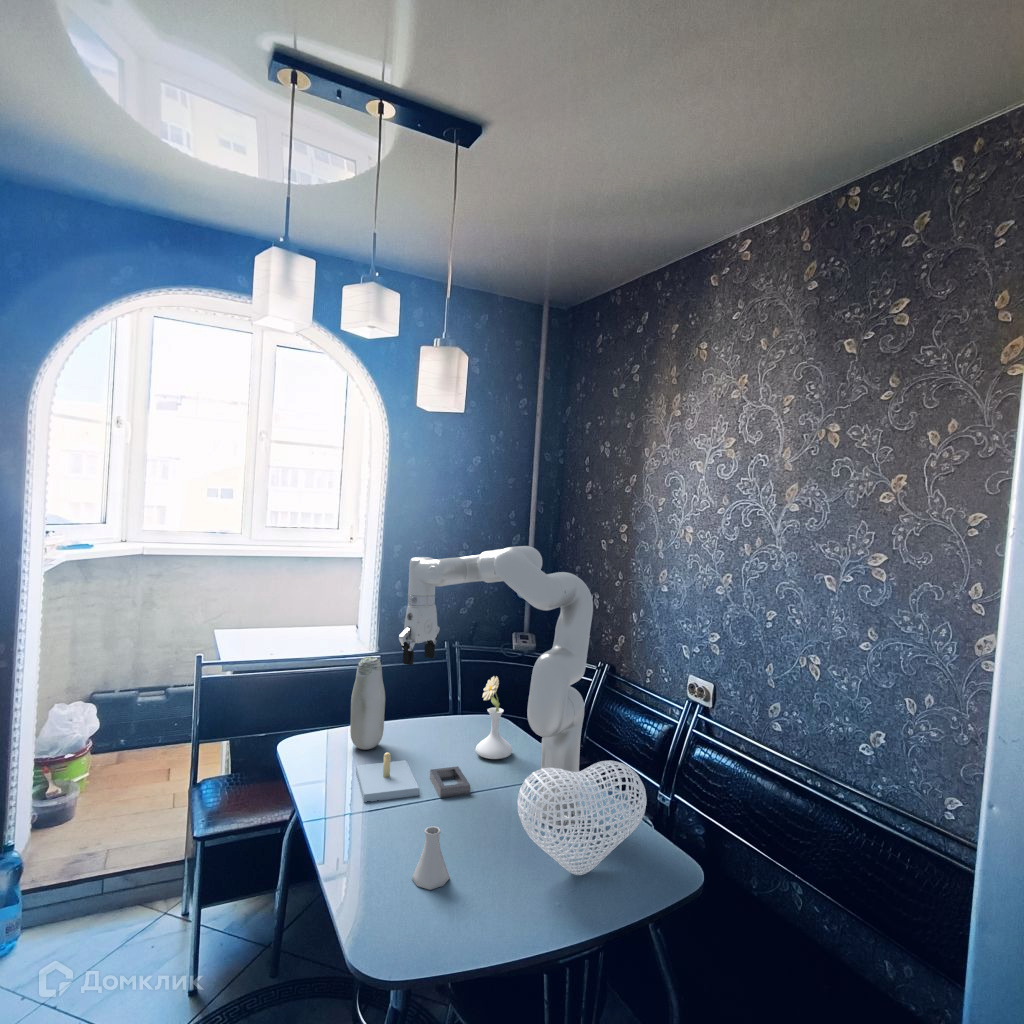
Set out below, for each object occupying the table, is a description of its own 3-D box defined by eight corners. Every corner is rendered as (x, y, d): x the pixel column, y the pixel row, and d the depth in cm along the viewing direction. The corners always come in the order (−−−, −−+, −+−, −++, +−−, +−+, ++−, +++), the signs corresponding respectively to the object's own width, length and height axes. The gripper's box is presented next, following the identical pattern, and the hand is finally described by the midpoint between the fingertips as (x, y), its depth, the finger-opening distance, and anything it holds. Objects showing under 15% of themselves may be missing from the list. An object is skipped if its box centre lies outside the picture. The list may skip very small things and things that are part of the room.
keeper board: (418, 795, 160) (419, 763, 160) (363, 802, 155) (364, 769, 155) (405, 767, 177) (406, 738, 177) (355, 772, 172) (357, 742, 172)
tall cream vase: (350, 742, 193) (354, 653, 193) (383, 741, 195) (387, 653, 195) (348, 754, 184) (351, 661, 183) (382, 753, 186) (386, 661, 185)
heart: (531, 909, 116) (536, 792, 116) (503, 864, 130) (508, 760, 130) (658, 883, 126) (662, 775, 126) (619, 843, 140) (623, 747, 140)
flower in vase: (476, 747, 194) (480, 667, 194) (513, 749, 193) (516, 669, 193) (472, 764, 181) (476, 679, 181) (511, 766, 180) (514, 681, 180)
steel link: (469, 794, 161) (470, 785, 161) (440, 798, 159) (440, 788, 159) (457, 775, 173) (458, 766, 173) (429, 778, 170) (430, 769, 170)
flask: (431, 864, 129) (433, 817, 129) (456, 878, 125) (458, 829, 125) (405, 879, 124) (407, 830, 124) (429, 895, 119) (431, 844, 119)
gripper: (412, 605, 165) (410, 669, 165) (449, 598, 180) (447, 657, 180) (390, 602, 169) (388, 664, 169) (429, 596, 184) (426, 653, 184)
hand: (418, 660), depth 175 cm, fingers open, 9 cm apart
